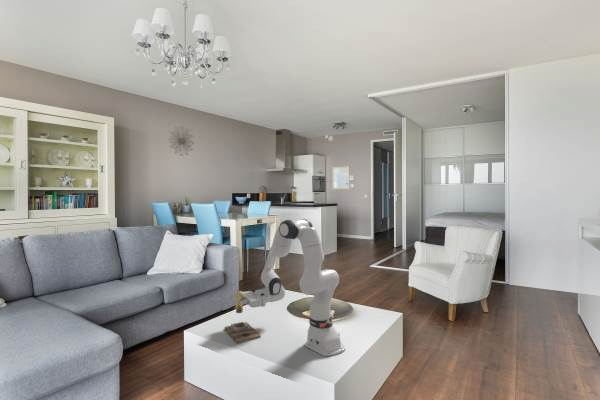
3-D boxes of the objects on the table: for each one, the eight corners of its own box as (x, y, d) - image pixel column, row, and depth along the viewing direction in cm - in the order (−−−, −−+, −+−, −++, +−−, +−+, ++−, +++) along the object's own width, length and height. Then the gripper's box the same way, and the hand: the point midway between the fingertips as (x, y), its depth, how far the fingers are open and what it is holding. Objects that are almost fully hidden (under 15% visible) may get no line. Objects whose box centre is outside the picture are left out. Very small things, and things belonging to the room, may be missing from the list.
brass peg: (243, 312, 199) (243, 292, 198) (237, 313, 197) (236, 293, 196) (241, 310, 202) (241, 290, 202) (235, 311, 200) (234, 291, 200)
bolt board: (260, 337, 191) (260, 331, 190) (236, 343, 184) (236, 337, 184) (246, 323, 210) (246, 318, 210) (224, 328, 203) (224, 323, 203)
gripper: (253, 287, 215) (231, 291, 208) (266, 296, 197) (243, 300, 190) (253, 297, 215) (232, 301, 208) (266, 307, 197) (243, 311, 190)
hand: (237, 301), depth 199 cm, fingers closed on brass peg, 4 cm apart
